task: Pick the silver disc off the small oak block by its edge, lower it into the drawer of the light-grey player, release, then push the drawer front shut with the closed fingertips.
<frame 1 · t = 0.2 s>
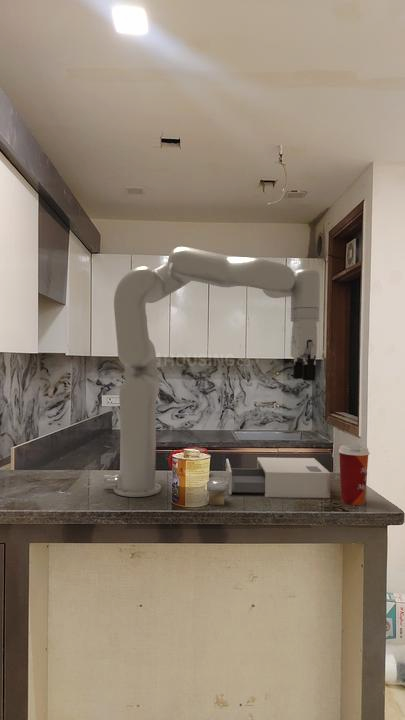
hand: (303, 379, 126), 31 cm above the countertop, fingers open, 9 cm apart
pedestal: (216, 502, 118), on the countertop
drawer: (256, 475, 132), point 3 cm above the countertop, slide at 8.5 cm
paper cup: (352, 502, 120), on the countertop
mug: (187, 475, 145), on the countertop
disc: (216, 488, 118), point 3 cm above the countertop, touching pedestal
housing: (291, 487, 132), on the countertop
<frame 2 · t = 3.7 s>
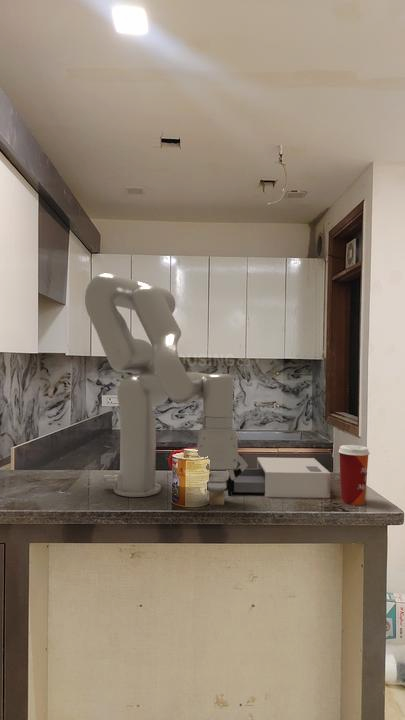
hand: (216, 494, 118), 2 cm above the countertop, fingers closed on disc, 5 cm apart
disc: (216, 488, 118), point 4 cm above the countertop, touching gripper, pedestal
everything else where it was.
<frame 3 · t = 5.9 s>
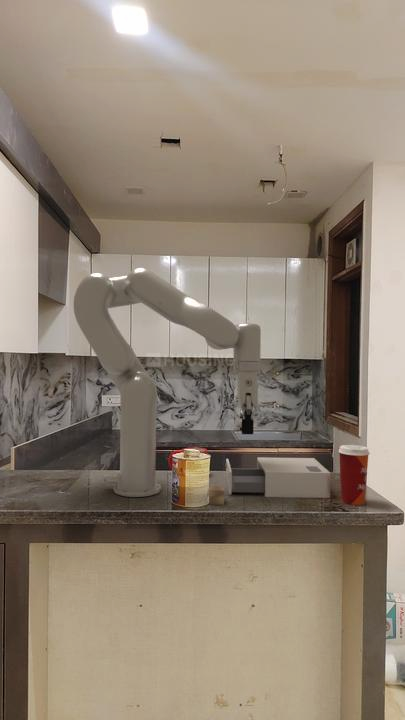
hand: (246, 431, 132), 16 cm above the countertop, fingers closed on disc, 5 cm apart
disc: (246, 426, 132), point 17 cm above the countertop, touching gripper
everything else where it was.
when the fingers open (2 cm above the countertop, at t = 8.5 s): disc drops 2 cm, resting on drawer.
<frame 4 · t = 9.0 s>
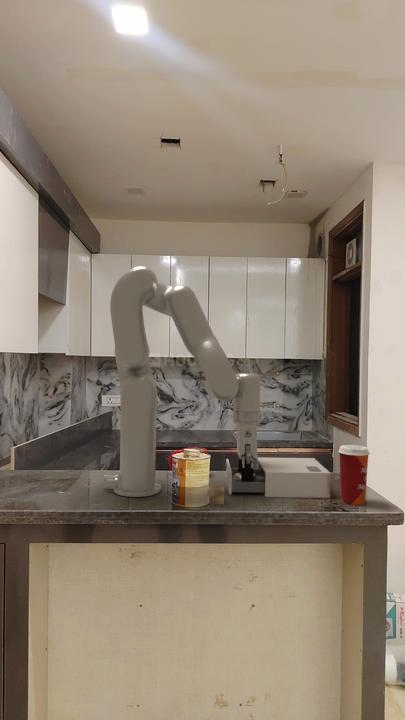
hand: (245, 477, 132), 3 cm above the countertop, fingers open, 9 cm apart
drawer: (256, 475, 132), point 3 cm above the countertop, slide at 8.5 cm, touching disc
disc: (245, 482, 132), point 1 cm above the countertop, touching drawer
everything else where it was.
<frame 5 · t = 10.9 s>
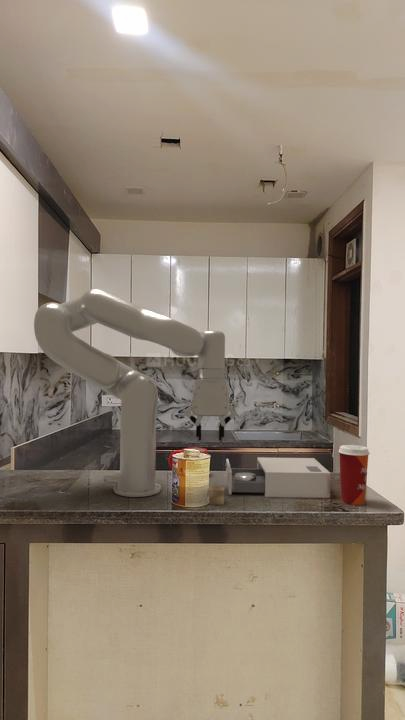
hand: (209, 439, 132), 13 cm above the countertop, fingers open, 5 cm apart
nothing on the countertop moved.
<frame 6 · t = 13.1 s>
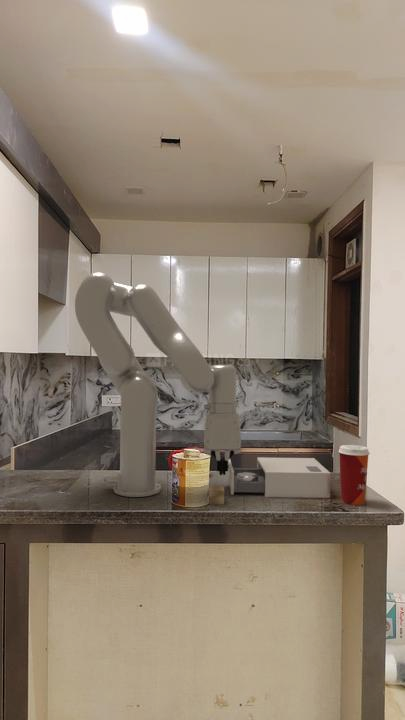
hand: (222, 473, 132), 4 cm above the countertop, fingers closed
drawer: (258, 476, 132), point 3 cm above the countertop, slide at 7.9 cm, touching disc, gripper
everything else where it was.
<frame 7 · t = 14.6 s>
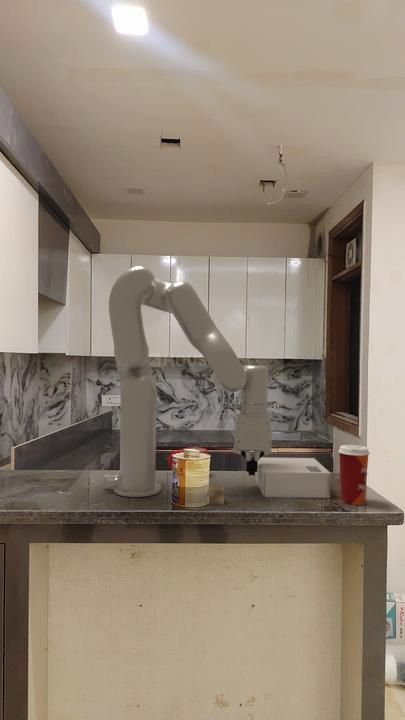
hand: (251, 474, 132), 4 cm above the countertop, fingers closed
drawer: (287, 476, 132), point 3 cm above the countertop, slide at -0.3 cm, touching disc, gripper, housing
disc: (276, 482, 132), point 1 cm above the countertop, touching drawer
everything else where it was.
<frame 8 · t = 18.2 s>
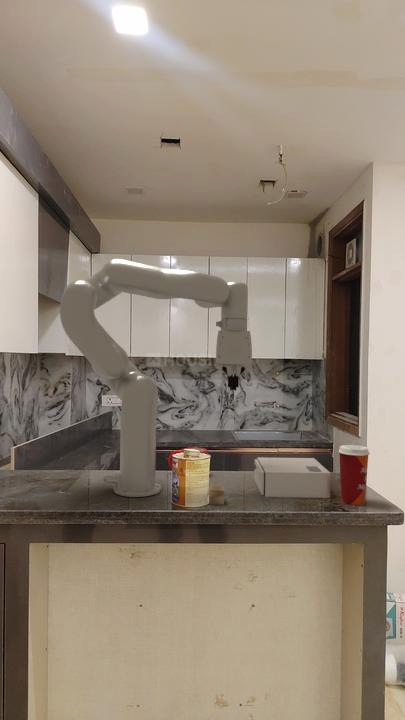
hand: (233, 389, 135), 27 cm above the countertop, fingers closed
drawer: (286, 476, 132), point 3 cm above the countertop, slide at 0.0 cm, touching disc
everything else where it was.
at the end: drawer slide at 0.0 cm; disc inside the target area on the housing (4.3 cm from its centre), point 1.4 cm above the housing's base; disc tilted 0° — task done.
